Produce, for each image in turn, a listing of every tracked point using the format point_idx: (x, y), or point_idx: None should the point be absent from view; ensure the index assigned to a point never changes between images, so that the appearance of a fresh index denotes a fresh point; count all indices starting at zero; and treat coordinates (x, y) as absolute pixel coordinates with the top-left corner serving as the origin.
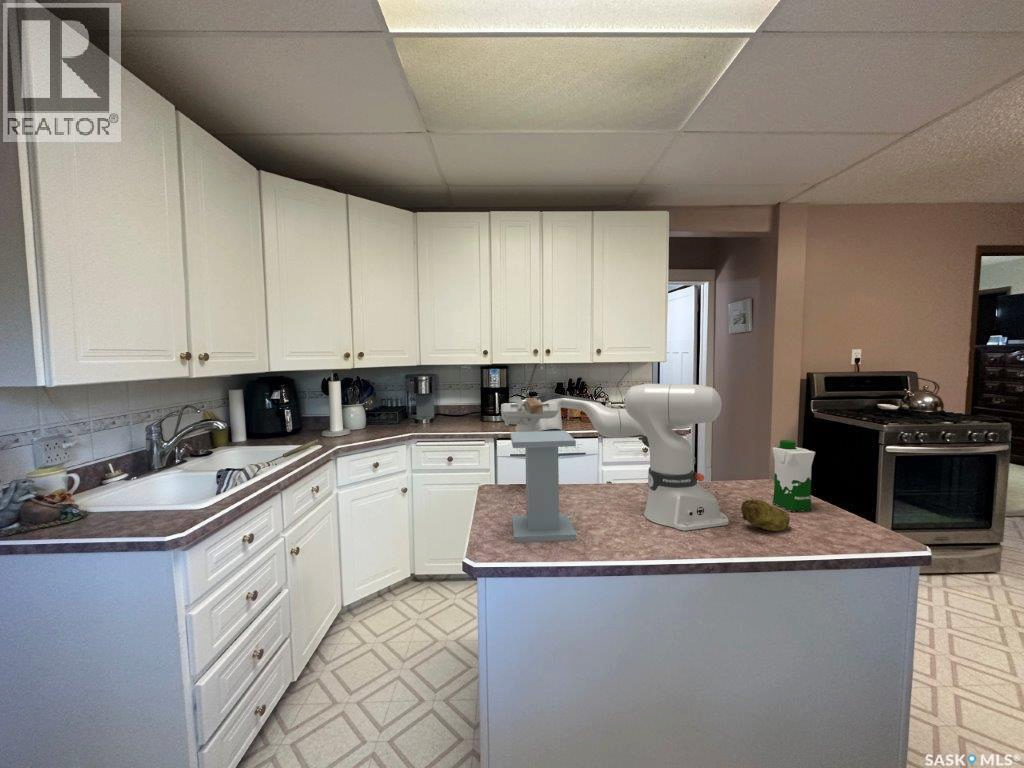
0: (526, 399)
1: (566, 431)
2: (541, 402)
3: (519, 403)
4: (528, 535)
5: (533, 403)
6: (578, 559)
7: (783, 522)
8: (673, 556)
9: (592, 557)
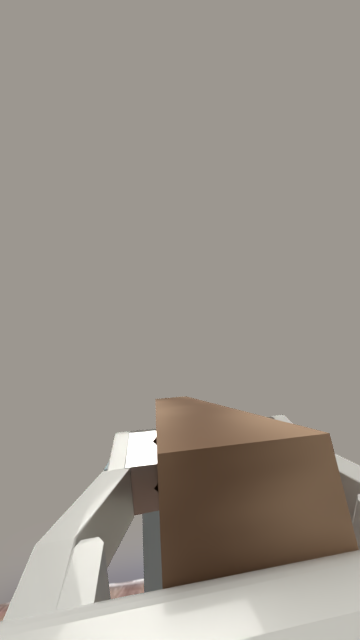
0: (234, 410)
1: (106, 465)
2: (70, 513)
3: (350, 472)
4: None
5: (179, 399)
6: (139, 585)
7: None
8: (7, 609)
9: (119, 592)
